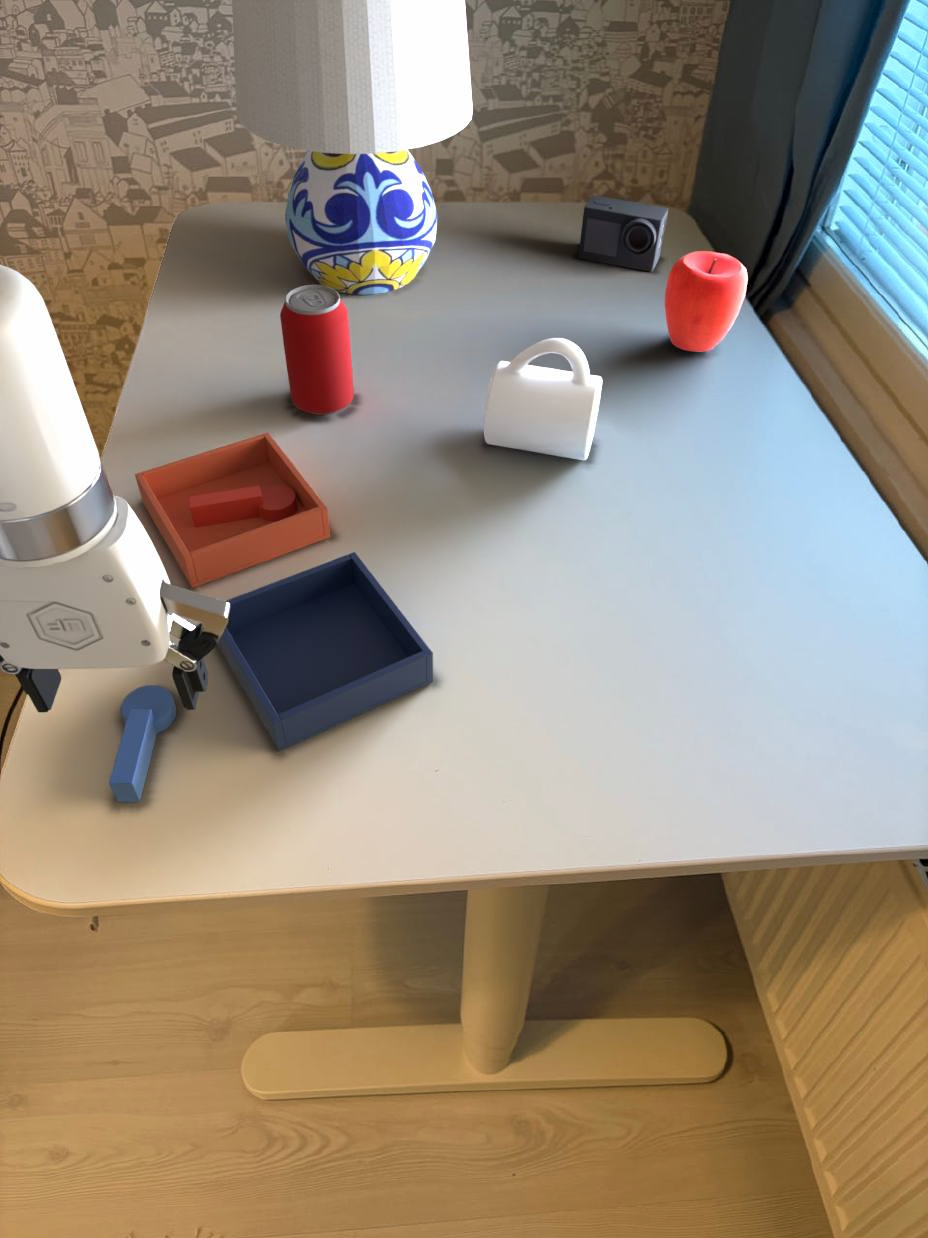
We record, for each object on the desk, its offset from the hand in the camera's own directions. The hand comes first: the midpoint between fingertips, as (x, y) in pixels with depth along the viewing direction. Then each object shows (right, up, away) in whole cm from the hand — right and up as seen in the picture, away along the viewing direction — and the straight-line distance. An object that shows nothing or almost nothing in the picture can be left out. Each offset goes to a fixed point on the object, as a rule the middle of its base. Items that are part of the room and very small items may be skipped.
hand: (122, 694), depth 62 cm
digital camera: (+44, +53, +61) cm, 92 cm away
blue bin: (+12, +2, +12) cm, 17 cm away
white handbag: (+31, +23, +32) cm, 50 cm away
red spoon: (+3, +15, +23) cm, 28 cm away
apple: (+50, +37, +47) cm, 78 cm away
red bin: (+2, +14, +23) cm, 27 cm away
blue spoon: (-1, -4, +6) cm, 7 cm away
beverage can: (+8, +28, +37) cm, 47 cm away
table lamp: (+10, +51, +58) cm, 78 cm away
